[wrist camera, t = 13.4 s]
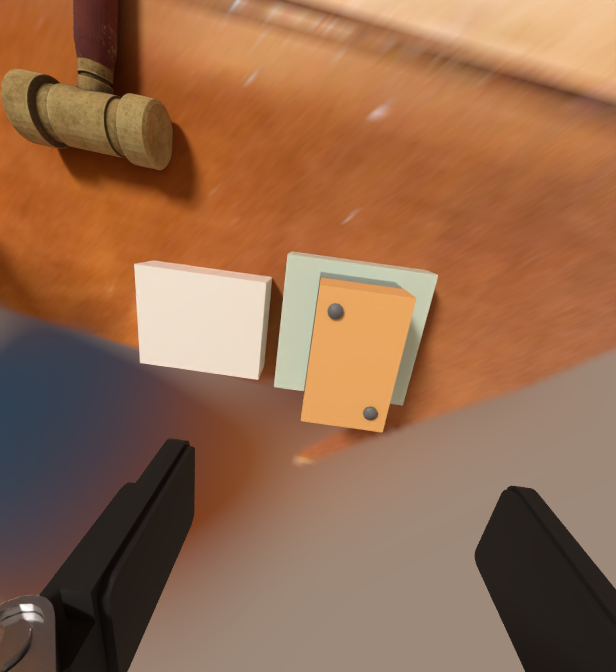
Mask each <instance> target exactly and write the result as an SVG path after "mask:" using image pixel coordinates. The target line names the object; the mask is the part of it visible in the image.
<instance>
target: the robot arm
mask: <svg viewBox="0 0 616 672" xmlns="http://www.w3.org/2000/svg"><path fill="white" fill-rule="evenodd" d="M194 481H195V448H194V447H190V445H189V441H184V440H178V439H168V440H167V441H166V442H165V443H164V445H163V446H162V447H161V449H160V450H159V452H158V453H157V454H156V456H155V457H154V458H153V460H152V461H151V463H150V464H149V465H148V467H147V468H146V470H145V471H144V472H143V474H142V475H141V476H140V478H139V479H138V481H137V482H136V483H127V484H125V485H124V486H123V487H122V488H121V489H120V490H119V492H118V493H117V494H116V496H115V497H114V498H113V500H112V501H111V502H110V504H109V505H108V506H107V508H106V509H105V510H104V511H103V513H102V514H101V515H100V516H99V518H98V519H97V520H96V522H95V523H94V524H93V526H92V527H91V528H90V530H89V531H88V532H87V534H86V535H85V536H84V537H83V539H82V540H81V541H80V543H79V544H78V545H77V547H76V548H75V549H74V551H73V552H72V553H71V554H70V556H69V557H68V558H67V560H66V561H65V562H64V564H63V565H62V566H61V568H60V569H59V570H58V571H57V573H56V574H55V575H54V577H53V578H52V579H51V581H50V582H49V583H48V585H47V586H46V587H45V588H44V590H43V591H42V592H41V594H40V595H39V596H38V595H27V596H21V597H18V598H15V599H12V600H9V601H6V602H4V603H3V604H1V605H0V672H127V671H128V669H129V667H130V664H131V662H132V660H133V658H134V655H135V653H136V651H137V649H138V646H139V644H140V642H141V639H142V637H143V635H144V633H145V630H146V628H147V626H148V623H149V621H150V619H151V616H152V614H153V612H154V610H155V607H156V605H157V603H158V600H159V598H160V596H161V593H162V591H163V589H164V587H165V584H166V582H167V580H168V577H169V575H170V573H171V570H172V568H173V566H174V563H175V561H176V559H177V557H178V554H179V552H180V550H181V548H182V545H183V543H184V541H185V538H186V536H187V534H188V531H189V529H190V527H191V524H192V521H193V517H194V483H195V482H194ZM475 561H476V565H477V567H478V569H479V571H480V574H481V576H482V578H483V580H484V582H485V585H486V587H487V589H488V591H489V593H490V596H491V598H492V600H493V602H494V604H495V606H496V609H497V610H498V613H499V615H500V617H501V619H502V622H503V624H504V626H505V628H506V630H507V633H508V635H509V637H510V639H511V641H512V643H513V646H514V648H515V650H516V652H517V655H518V657H519V659H520V661H521V663H522V665H523V668H524V670H525V672H616V589H615V588H614V587H613V586H612V584H611V583H610V582H609V581H608V579H607V578H606V577H605V576H604V574H603V573H602V572H601V571H600V569H599V568H598V567H597V566H596V564H594V562H593V561H592V560H591V558H590V557H589V556H588V555H587V553H586V552H585V551H584V550H583V549H582V547H581V546H580V545H579V543H578V542H577V541H576V540H575V539H574V537H573V536H572V535H571V534H570V532H569V531H568V530H567V529H566V527H565V526H564V525H563V524H562V523H561V521H560V520H559V519H558V518H557V516H556V515H555V514H554V513H553V511H552V510H551V509H550V508H549V506H548V505H547V504H546V503H545V501H544V500H543V499H542V498H541V497H540V496H539V494H538V493H537V492H536V491H535V490H534V489H531V488H525V487H517V486H510V487H508V488H507V490H504V491H503V492H502V493H501V496H500V498H499V500H498V502H497V504H496V507H495V509H494V511H493V513H492V515H491V517H490V520H489V522H488V524H487V526H486V528H485V531H484V533H483V535H482V537H481V540H480V541H479V544H478V546H477V548H476V551H475Z"/></svg>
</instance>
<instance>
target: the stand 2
mask: <svg viewBox="0 0 616 672" xmlns="http://www.w3.org/2000/svg"><path fill="white" fill-rule="evenodd" d="M321 272H326V273H334V274H341V275H348V276H355V277H362V278H370V279H377V280H384V281H391V282H396V283H397V284H398V285H399V286H401V287H402V288H403V289H405V290H406V291H408V292H409V293H410V294H412V295H413V296H414V297H415V298H416V302H415V306H414V310H413V314H412V318H411V322H410V326H409V330H408V334H407V338H406V342H405V346H404V350H403V353H402V357H401V361H400V365H399V369H398V373H397V377H396V381H395V385H394V389H393V393H392V397H391V401H390V404H395V405H402V406H403V403H404V399H405V396H406V392H407V388H408V385H409V381H410V377H411V374H412V370H413V366H414V363H415V359H416V355H417V352H418V348H419V344H420V341H421V337H422V333H423V330H424V326H425V322H426V319H427V315H428V311H429V308H430V304H431V300H432V297H433V293H434V289H435V286H436V282H437V278H438V275H437V274H434V273H432V272H430V271H427V270H422V269H414V268H407V267H400V266H393V265H386V264H379V263H372V262H364V261H357V260H350V259H343V258H336V257H329V256H322V255H314V254H307V253H300V252H293V251H292V252H290V253H289V254H288V256H287V266H286V275H285V285H284V294H283V304H282V313H281V323H280V332H279V342H278V351H277V361H276V370H275V380H274V387H278V388H285V389H292V390H299V391H304V386H305V379H306V372H307V365H308V358H309V351H310V344H311V336H312V329H313V322H314V315H315V308H316V301H317V294H318V287H319V280H320V273H321Z"/></svg>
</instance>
